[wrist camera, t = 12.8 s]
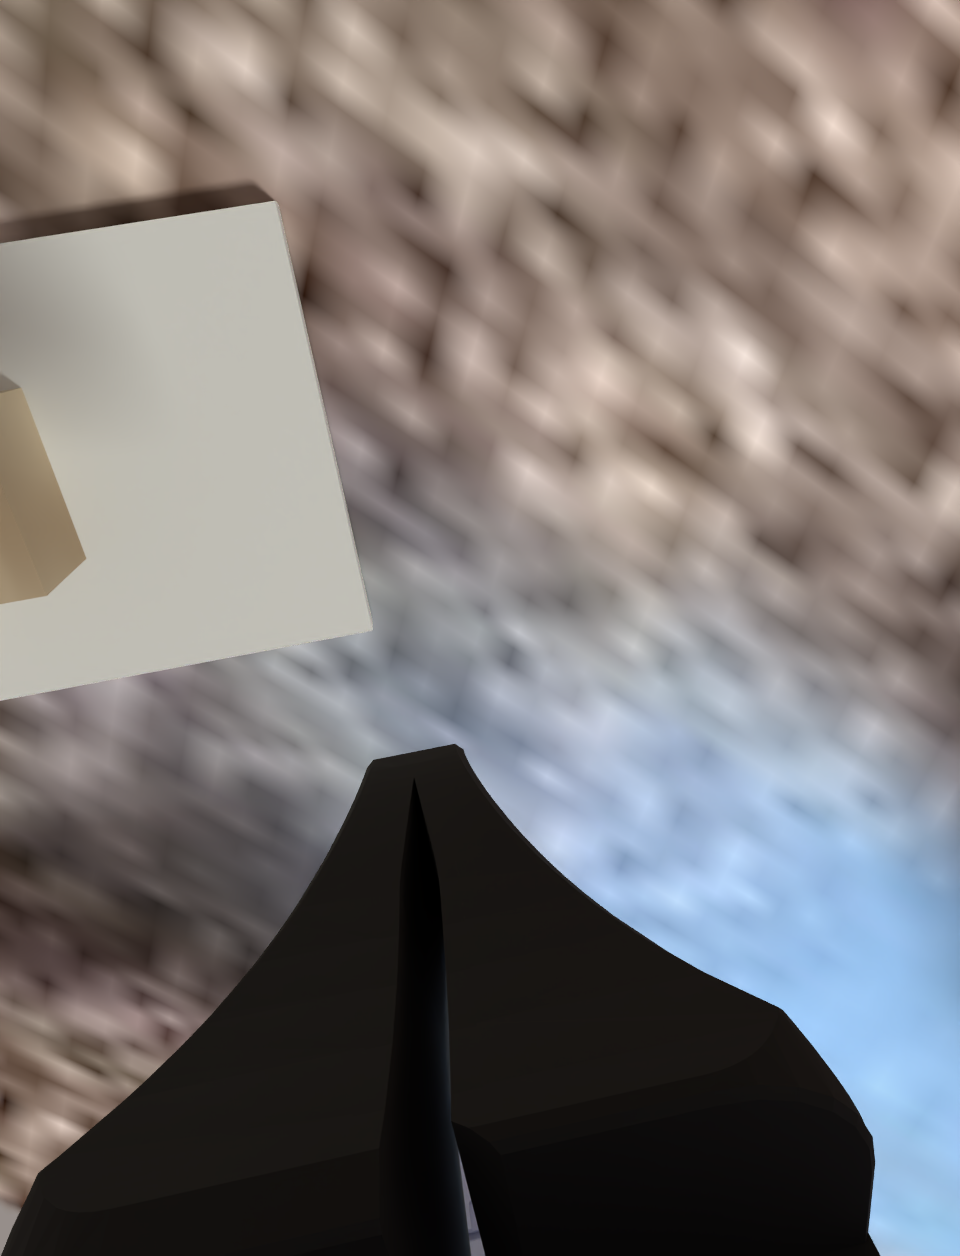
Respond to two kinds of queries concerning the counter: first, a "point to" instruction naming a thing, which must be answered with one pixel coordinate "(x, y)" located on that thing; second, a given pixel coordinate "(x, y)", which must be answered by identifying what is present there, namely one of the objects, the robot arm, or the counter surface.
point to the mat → (175, 450)
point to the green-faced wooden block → (30, 510)
